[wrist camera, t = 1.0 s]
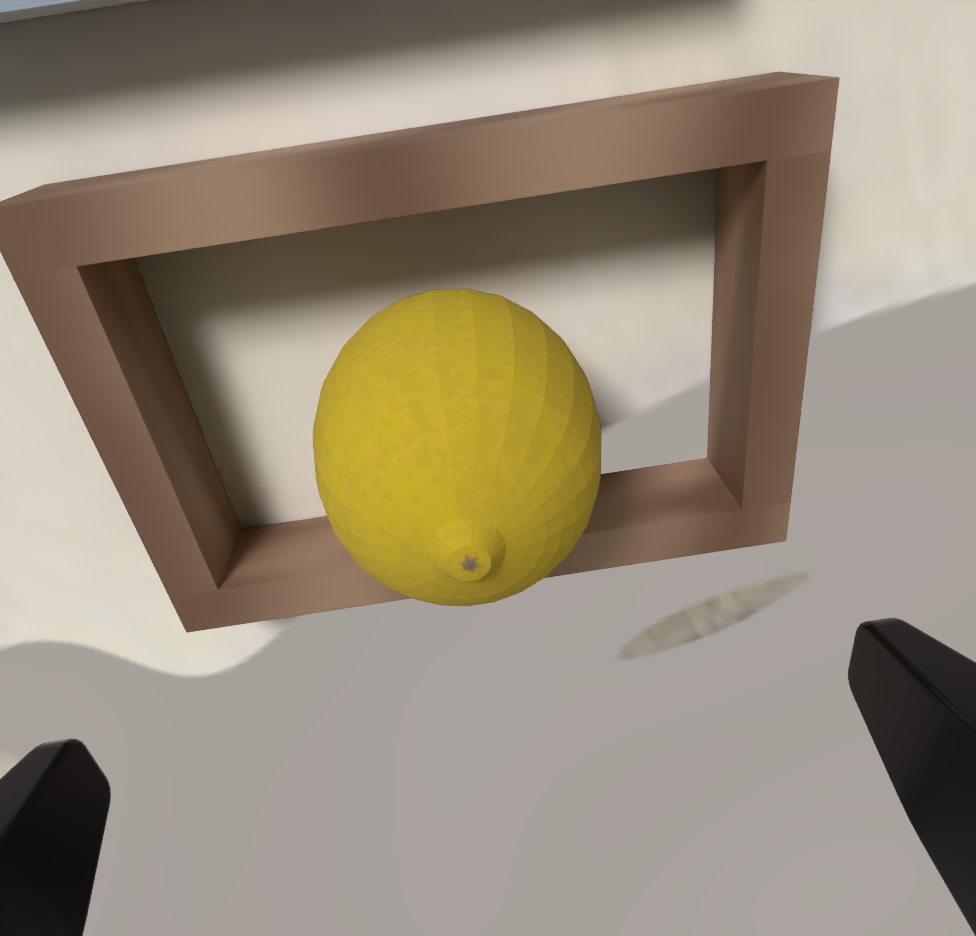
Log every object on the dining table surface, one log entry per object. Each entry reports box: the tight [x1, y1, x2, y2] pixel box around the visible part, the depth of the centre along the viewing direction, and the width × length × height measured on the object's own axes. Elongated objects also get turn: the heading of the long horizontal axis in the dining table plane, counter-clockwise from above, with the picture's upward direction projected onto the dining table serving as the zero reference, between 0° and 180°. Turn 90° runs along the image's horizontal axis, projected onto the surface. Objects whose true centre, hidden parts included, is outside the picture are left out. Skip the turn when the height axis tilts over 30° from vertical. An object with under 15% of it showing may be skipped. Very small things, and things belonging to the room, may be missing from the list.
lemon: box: [313, 289, 601, 606], centre depth 14 cm, size 6×6×8 cm
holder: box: [0, 72, 839, 632], centre depth 16 cm, size 15×10×2 cm
